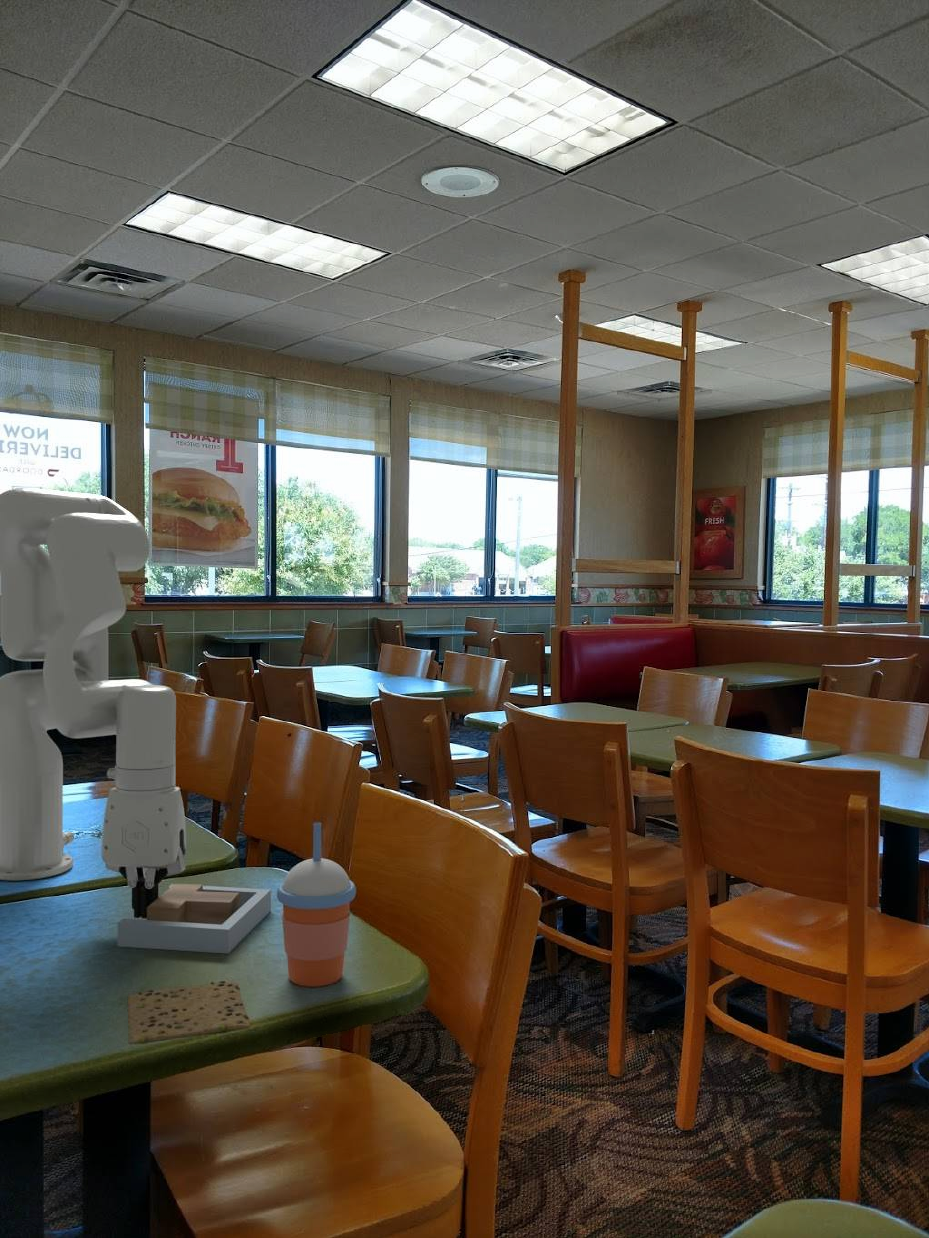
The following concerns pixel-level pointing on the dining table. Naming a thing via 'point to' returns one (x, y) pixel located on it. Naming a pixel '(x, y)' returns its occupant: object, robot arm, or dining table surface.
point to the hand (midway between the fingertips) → (145, 914)
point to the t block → (193, 905)
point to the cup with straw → (316, 918)
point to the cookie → (185, 1012)
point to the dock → (199, 926)
